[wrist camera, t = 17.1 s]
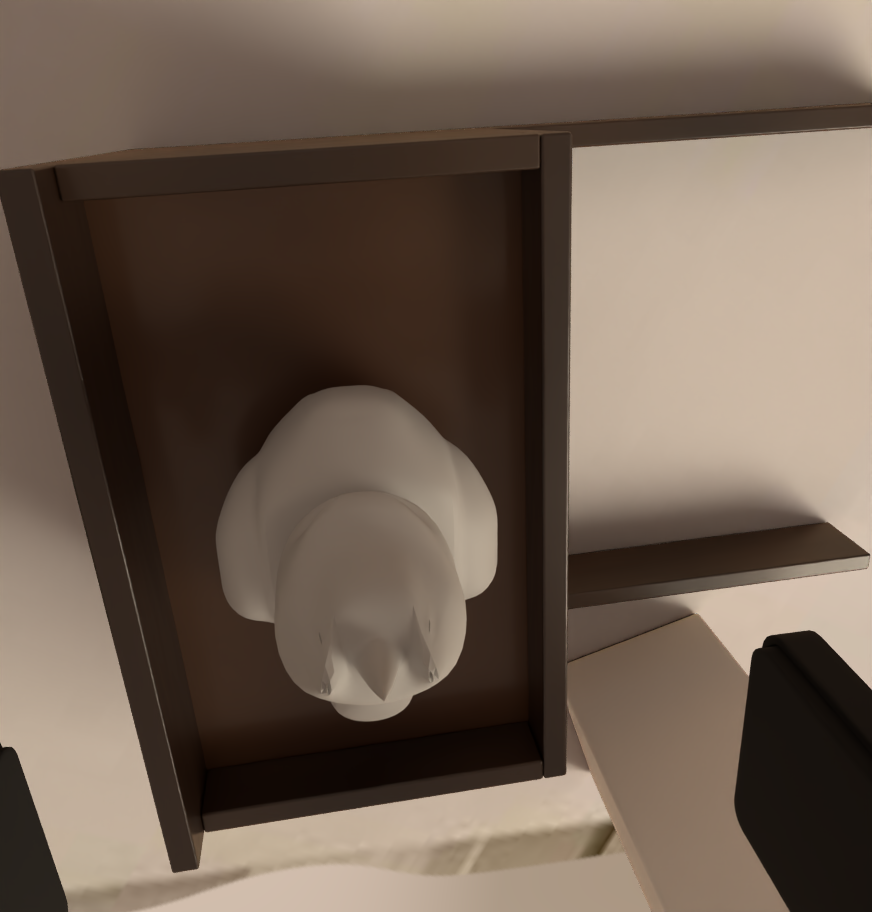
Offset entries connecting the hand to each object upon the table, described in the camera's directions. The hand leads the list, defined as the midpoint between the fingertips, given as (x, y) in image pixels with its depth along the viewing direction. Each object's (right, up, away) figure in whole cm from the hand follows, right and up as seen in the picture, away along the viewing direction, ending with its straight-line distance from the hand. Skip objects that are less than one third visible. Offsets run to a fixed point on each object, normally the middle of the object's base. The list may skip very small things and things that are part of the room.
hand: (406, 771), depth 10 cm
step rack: (+3, +7, +16) cm, 17 cm away
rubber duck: (-1, +3, +8) cm, 9 cm away
